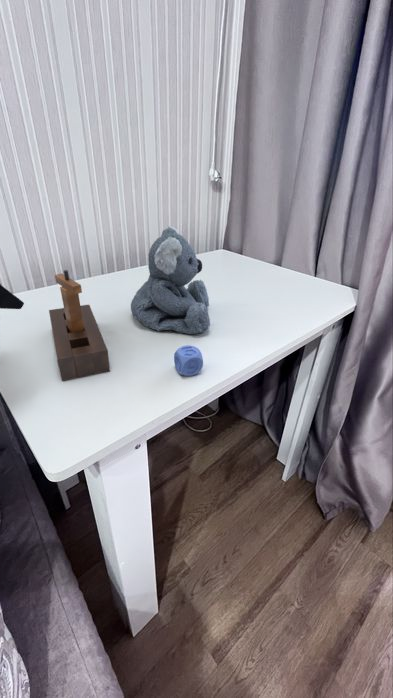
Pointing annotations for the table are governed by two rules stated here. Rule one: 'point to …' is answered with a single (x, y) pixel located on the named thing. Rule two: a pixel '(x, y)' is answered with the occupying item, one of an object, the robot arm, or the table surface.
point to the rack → (78, 346)
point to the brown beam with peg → (71, 301)
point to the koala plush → (172, 288)
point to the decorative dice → (188, 360)
